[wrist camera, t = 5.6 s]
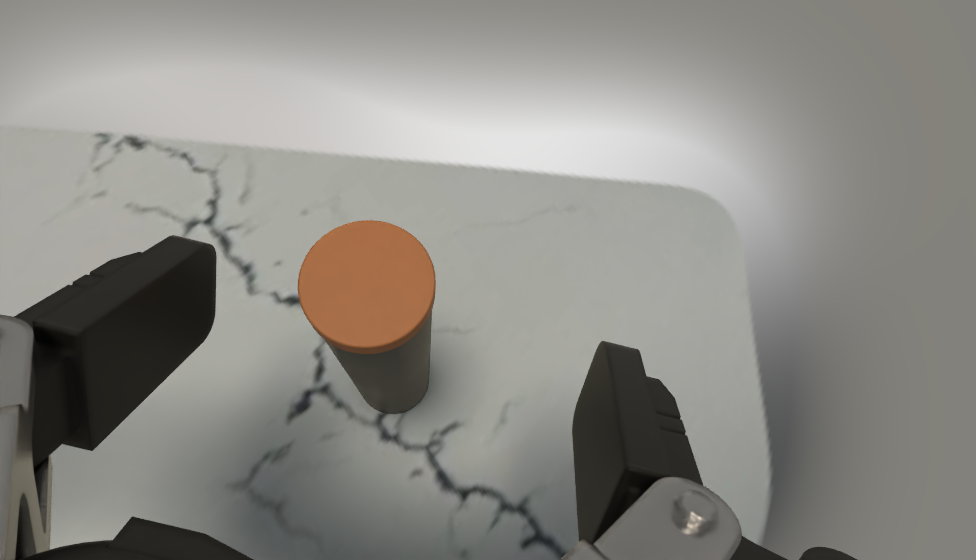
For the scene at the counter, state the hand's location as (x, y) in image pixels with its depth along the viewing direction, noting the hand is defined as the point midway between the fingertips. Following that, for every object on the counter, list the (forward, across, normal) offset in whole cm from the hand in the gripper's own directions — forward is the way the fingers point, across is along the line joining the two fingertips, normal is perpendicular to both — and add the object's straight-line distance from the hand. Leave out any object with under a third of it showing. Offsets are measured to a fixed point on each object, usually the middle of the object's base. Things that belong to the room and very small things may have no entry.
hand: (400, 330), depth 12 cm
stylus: (+8, +1, +7) cm, 10 cm away
